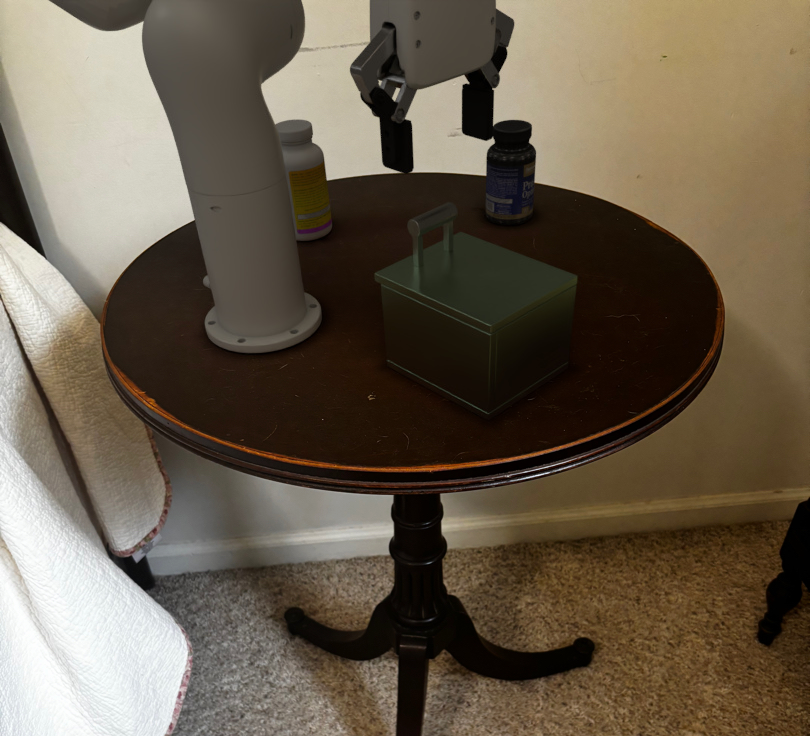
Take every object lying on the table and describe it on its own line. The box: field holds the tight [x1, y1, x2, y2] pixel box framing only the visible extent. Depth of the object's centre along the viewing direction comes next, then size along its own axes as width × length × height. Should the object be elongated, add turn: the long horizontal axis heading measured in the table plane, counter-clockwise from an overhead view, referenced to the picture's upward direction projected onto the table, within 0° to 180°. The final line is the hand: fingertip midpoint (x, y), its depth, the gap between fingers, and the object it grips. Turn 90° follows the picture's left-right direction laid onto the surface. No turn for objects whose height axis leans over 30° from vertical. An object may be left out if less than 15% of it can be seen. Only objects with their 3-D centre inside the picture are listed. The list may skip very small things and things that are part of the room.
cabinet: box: [380, 283, 578, 421], centre depth 76 cm, size 14×12×9 cm
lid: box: [374, 201, 579, 334], centre depth 71 cm, size 14×12×5 cm
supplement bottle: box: [275, 119, 333, 242], centre depth 99 cm, size 7×7×13 cm
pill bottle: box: [485, 119, 537, 226], centre depth 100 cm, size 6×6×11 cm
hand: (438, 152), depth 69 cm, fingers open, 9 cm apart
